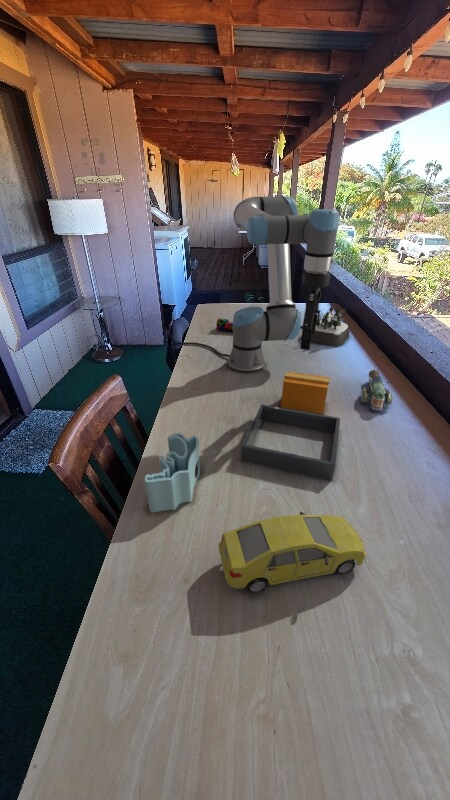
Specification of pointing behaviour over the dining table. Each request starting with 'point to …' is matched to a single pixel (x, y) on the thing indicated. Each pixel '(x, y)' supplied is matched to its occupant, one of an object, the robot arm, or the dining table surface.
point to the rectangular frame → (286, 459)
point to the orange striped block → (304, 392)
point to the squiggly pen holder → (174, 474)
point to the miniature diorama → (330, 329)
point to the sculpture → (224, 324)
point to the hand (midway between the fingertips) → (307, 340)
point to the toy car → (289, 550)
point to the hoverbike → (376, 391)
